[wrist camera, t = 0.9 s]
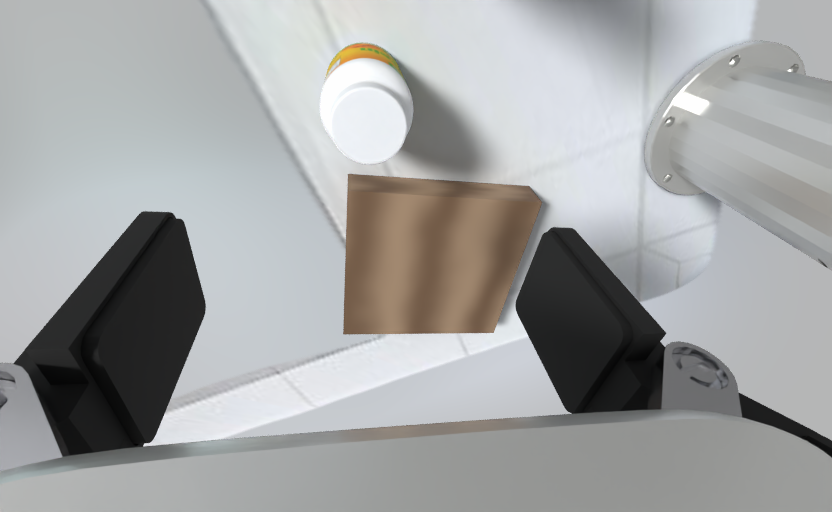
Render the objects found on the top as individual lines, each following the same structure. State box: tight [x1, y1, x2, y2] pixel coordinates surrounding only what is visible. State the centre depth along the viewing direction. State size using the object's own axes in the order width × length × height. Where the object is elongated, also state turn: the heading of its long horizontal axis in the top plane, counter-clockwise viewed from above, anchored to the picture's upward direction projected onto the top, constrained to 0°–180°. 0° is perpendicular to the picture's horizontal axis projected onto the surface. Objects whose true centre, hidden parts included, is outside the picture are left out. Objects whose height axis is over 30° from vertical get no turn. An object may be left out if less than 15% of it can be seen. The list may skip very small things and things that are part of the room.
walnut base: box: [343, 174, 542, 334], centre depth 36 cm, size 16×16×3 cm
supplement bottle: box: [320, 42, 414, 165], centre depth 23 cm, size 5×5×10 cm
